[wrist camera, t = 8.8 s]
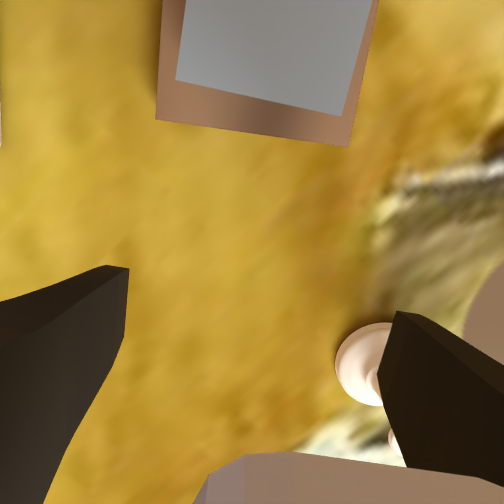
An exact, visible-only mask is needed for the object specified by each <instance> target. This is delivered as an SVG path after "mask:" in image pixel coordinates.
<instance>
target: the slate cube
mask: <svg viewBox="0 0 504 504" xmlns="http://www.w3.org/2000/svg"><path fill="white" fill-rule="evenodd" d="M372 1H373V0H186V6H185V13H184V20H183V28H182V35H181V42H180V49H179V56H178V64H177V71H176V78H175V80H178V81H182V82H187V83H191V84H196V85H200V86H205V87H209V88H214V89H218V90H223V91H227V92H232V93H236V94H241V95H246V96H250V97H255V98H259V99H264V100H268V101H273V102H277V103H282V104H286V105H291V106H295V107H300V108H304V109H309V110H313V111H318V112H322V113H327V114H331V115H336V116H340V117H341V116H342V112H343V108H344V105H345V101H346V97H347V94H348V90H349V86H350V82H351V79H352V75H353V71H354V68H355V64H356V60H357V56H358V53H359V49H360V45H361V42H362V38H363V34H364V30H365V27H366V23H367V19H368V16H369V12H370V8H371V4H372Z"/></svg>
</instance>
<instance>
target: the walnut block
mask: <svg viewBox="0 0 504 504" xmlns="http://www.w3.org/2000/svg"><path fill="white" fill-rule="evenodd" d="M378 4H379V0H373V1H372V4H371V8H370V12H369V16H368V19H367V23H366V27H365V30H364V34H363V38H362V42H361V45H360V49H359V53H358V56H357V60H356V64H355V68H354V71H353V75H352V79H351V82H350V86H349V90H348V94H347V97H346V101H345V105H344V108H343V112H342V116H341V117H340V116H336V115H331V114H327V113H322V112H318V111H313V110H309V109H304V108H300V107H295V106H291V105H286V104H282V103H277V102H273V101H268V100H264V99H259V98H255V97H250V96H246V95H241V94H236V93H232V92H227V91H223V90H218V89H214V88H209V87H205V86H200V85H196V84H191V83H187V82H182V81H178V80H175V78H176V71H177V64H178V56H179V49H180V42H181V35H182V28H183V20H184V13H185V6H186V0H163V4H162V20H161V36H160V52H159V69H158V85H157V101H156V118H155V119H156V120H163V121H170V122H177V123H184V124H191V125H198V126H205V127H211V128H218V129H225V130H232V131H239V132H246V133H253V134H260V135H267V136H274V137H281V138H288V139H294V140H301V141H308V142H315V143H322V144H329V145H336V146H343V147H348V146H349V141H350V137H351V132H352V127H353V122H354V118H355V113H356V108H357V103H358V99H359V94H360V89H361V84H362V80H363V75H364V70H365V65H366V61H367V56H368V51H369V46H370V42H371V37H372V32H373V27H374V23H375V18H376V13H377V8H378Z"/></svg>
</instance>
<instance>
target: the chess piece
mask: <svg viewBox="0 0 504 504" xmlns="http://www.w3.org/2000/svg"><path fill="white" fill-rule="evenodd" d="M392 324H393V323H375V324H370V325H367V326H364V327H362V328H360V329H358V330H356V331H355V332H353V333H352V334H351V335H349V336H348V337H347V338H346V339H345V340H344V342H343V343H342V344H341V346H340V348H339V350H338V352H337V355H336V359H335V371H336V375H337V377H338V379H339V381H340V383H341V385H342V387H343V388H344V390H345V391H346V392H347V393H348V394H349V395H350V396H351V397H352V398H354V399H355V400H357V401H359V402H362V403H364V404H368V405H374V406H383V402H382V398H381V394H380V389H379V384H378V379H377V371H378V368H379V365H380V362H381V358H382V355H383V352H384V349H385V346H386V343H387V339H388V336H389V333H390V330H391V327H392ZM388 440H389V444H390V446H391V448H392V449H393V450H394V451H395V452H396V453H397V454H398V455H400V456H402V454H401V451H400V448H399V446H398V443H397V441H396V438H395V436H394V433H393V430H392V428H391V430H390V432H389V436H388ZM402 457H403V456H402Z"/></svg>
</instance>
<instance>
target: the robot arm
mask: <svg viewBox="0 0 504 504" xmlns="http://www.w3.org/2000/svg"><path fill="white" fill-rule="evenodd" d="M0 147H1V103H0ZM128 280H129V268H122V267H116V266H110V265H104V266H100V267H97V268H94V269H91V270H89V271H86V272H84V273H81V274H79V275H76V276H74V277H71V278H69V279H66V280H64V281H61V282H59V283H56V284H54V285H51V286H48V287H45V288H42V289H39V290H36V291H33V292H31V293H28V294H25V295H22V296H19V297H15V298H12V299H8V300H5V301H1V302H0V504H43V502H44V500H45V497H46V495H47V493H48V490H49V488H50V485H51V483H52V481H53V479H54V476H55V474H56V472H57V469H58V467H59V465H60V462H61V460H62V458H63V455H64V453H65V451H66V449H67V447H68V445H69V443H70V441H71V439H72V437H73V435H74V433H75V432H76V430H77V428H78V426H79V425H80V423H81V421H82V419H83V418H84V416H85V414H86V412H87V411H88V409H89V407H90V405H91V403H92V402H93V400H94V398H95V396H96V395H97V393H98V391H99V389H100V388H101V386H102V384H103V382H104V381H105V379H106V377H107V375H108V373H109V372H110V370H111V368H112V366H113V363H114V361H115V358H116V356H117V353H118V351H119V348H120V346H121V343H122V340H123V338H124V330H125V318H126V305H127V293H128ZM377 379H378V384H379V389H380V394H381V398H382V402H383V406H384V409H385V412H386V415H387V417H388V420H389V422H390V425H391V428H392V430H393V433H394V436H395V438H396V441H397V443H398V446H399V448H400V451H401V454H402V456H403V459H404V461H405V464H406V466H407V468H406V467H399V466H391V465H384V464H377V463H370V462H363V461H356V460H349V459H341V458H334V457H327V456H320V455H313V454H306V453H298V452H291V451H290V452H274V453H259V454H246V455H244V456H242V457H240V458H238V459H236V460H234V461H233V462H231V463H229V464H227V465H225V466H224V467H222V468H220V469H218V470H216V471H214V472H213V473H211V474H209V475H208V477H207V479H206V481H205V483H204V484H203V486H202V488H201V490H200V492H199V493H198V495H197V497H196V499H195V500H194V502H193V504H504V365H502V364H501V363H499V362H497V361H496V360H494V359H492V358H491V357H489V356H488V355H486V354H484V353H483V352H481V351H479V350H478V349H476V348H475V347H473V346H472V345H470V344H469V343H467V342H465V341H464V340H462V339H461V338H459V337H458V336H456V335H455V334H453V333H451V332H450V331H448V330H447V329H445V328H444V327H442V326H440V325H439V324H437V323H435V322H434V321H432V320H430V319H428V318H426V317H424V316H422V315H419V314H414V313H408V312H402V311H396V314H395V317H394V320H393V324H392V327H391V330H390V333H389V336H388V339H387V343H386V346H385V349H384V352H383V355H382V358H381V362H380V365H379V368H378V371H377Z"/></svg>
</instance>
